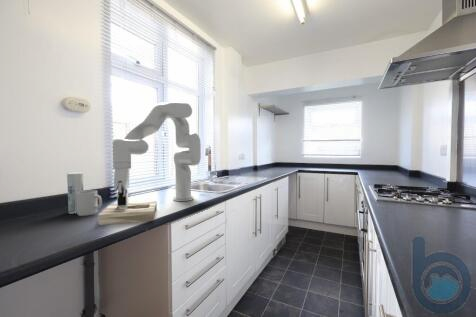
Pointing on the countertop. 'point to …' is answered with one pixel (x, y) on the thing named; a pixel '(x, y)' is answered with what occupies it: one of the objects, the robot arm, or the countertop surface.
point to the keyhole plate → (128, 213)
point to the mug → (88, 202)
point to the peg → (126, 202)
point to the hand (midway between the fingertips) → (122, 203)
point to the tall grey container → (74, 189)
